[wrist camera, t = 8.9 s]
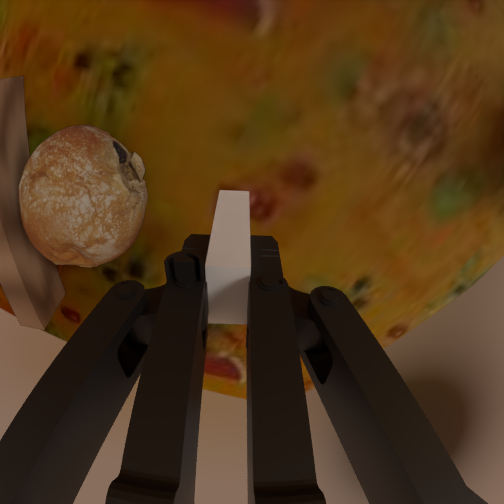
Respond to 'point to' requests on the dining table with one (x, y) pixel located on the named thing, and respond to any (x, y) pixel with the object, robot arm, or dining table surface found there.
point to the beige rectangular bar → (10, 223)
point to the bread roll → (82, 197)
